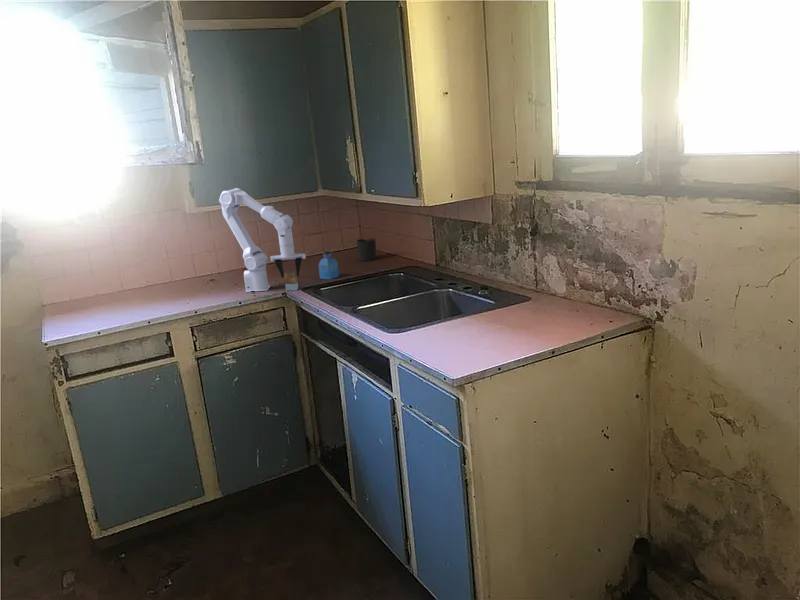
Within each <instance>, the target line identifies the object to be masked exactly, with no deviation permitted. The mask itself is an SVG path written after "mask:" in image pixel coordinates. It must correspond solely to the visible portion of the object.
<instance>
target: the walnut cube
mask: <svg viewBox="0 0 800 600" xmlns="http://www.w3.org/2000/svg"><path fill="white" fill-rule="evenodd" d="M283 278H284V285H286V284H296V283H297V281H298V276H297V271H296V270H294V271H293V270H291V271H284V277H283Z"/></svg>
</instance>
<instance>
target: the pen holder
mask: <svg viewBox="0 0 800 600" xmlns="http://www.w3.org/2000/svg"><path fill="white" fill-rule="evenodd" d="M376 243H377V242H376V238H373V237H372V238H369V239H364V238H360V239H356V247H357V255H358V260H359V261H360V262H369V261H368V260H372V261H374V260H373V259H375V260H376V259H377V247H376V246H377V244H376Z"/></svg>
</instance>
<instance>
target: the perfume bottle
mask: <svg viewBox="0 0 800 600" xmlns="http://www.w3.org/2000/svg"><path fill="white" fill-rule="evenodd" d="M322 255H323V258H321V259H320V261H319V263H318V273H319V278H320V279H323V280H324V279H325V280H333V279H335V278H337V277H340V270H339V262H338V261H337V259H335V257H331V256H332V253H331V250H323V254H322Z"/></svg>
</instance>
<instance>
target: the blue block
mask: <svg viewBox="0 0 800 600" xmlns="http://www.w3.org/2000/svg"><path fill="white" fill-rule="evenodd" d="M284 285H285V284H284ZM284 287H285V292H288V291H287V290H294V291H298V290H299V283H298V280H297V283H296V284H286V285H285V286H284ZM297 289H298V290H297Z"/></svg>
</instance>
